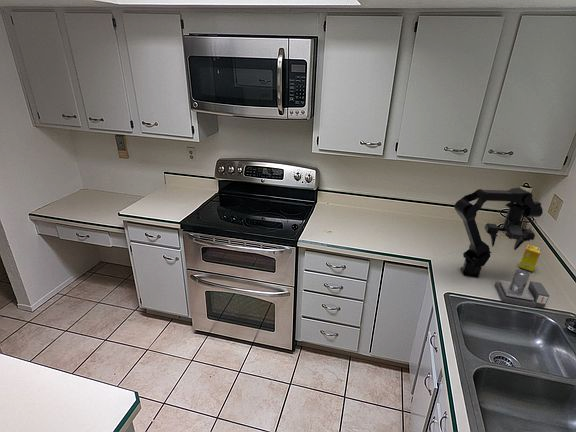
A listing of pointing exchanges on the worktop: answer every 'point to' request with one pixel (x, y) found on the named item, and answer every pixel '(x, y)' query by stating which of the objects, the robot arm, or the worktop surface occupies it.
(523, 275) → the cylinder
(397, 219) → the worktop surface
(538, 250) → the supplement box
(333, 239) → the worktop surface
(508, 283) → the pan
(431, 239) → the worktop surface
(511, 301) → the dark grey u-shaped piece
